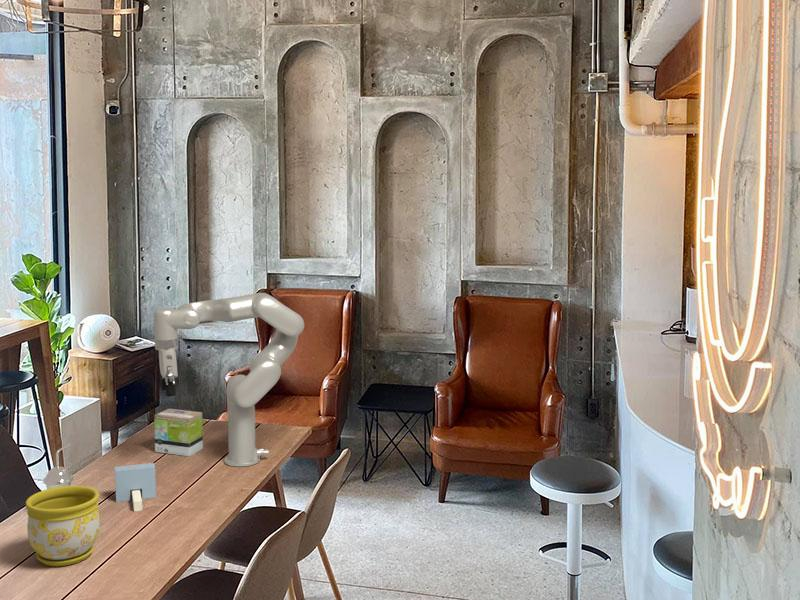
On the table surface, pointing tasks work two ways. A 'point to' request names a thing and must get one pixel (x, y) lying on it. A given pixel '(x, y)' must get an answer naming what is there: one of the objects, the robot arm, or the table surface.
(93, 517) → the flowerpot
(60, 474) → the cup with straw
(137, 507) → the rail
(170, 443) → the tea box
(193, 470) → the table surface
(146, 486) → the grey-blue plate
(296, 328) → the robot arm
